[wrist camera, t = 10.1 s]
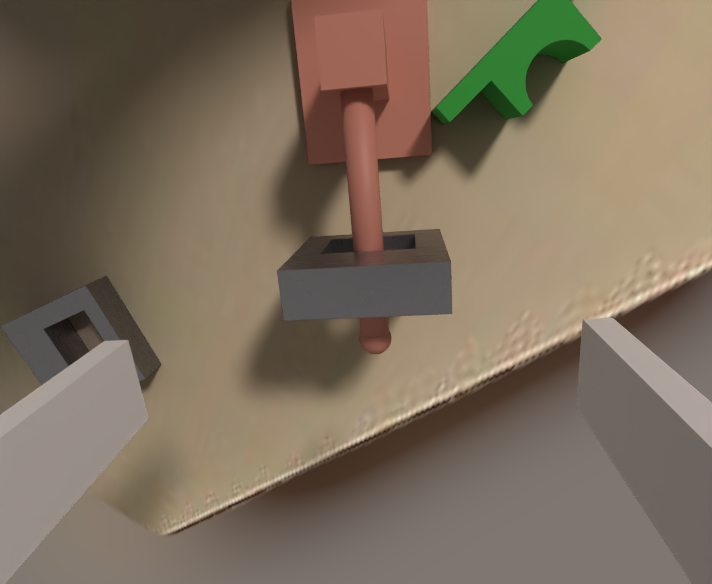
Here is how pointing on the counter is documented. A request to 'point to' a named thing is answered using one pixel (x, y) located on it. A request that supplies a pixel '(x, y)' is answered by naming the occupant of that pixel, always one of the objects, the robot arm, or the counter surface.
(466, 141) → the counter surface
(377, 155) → the hook
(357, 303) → the link
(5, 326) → the link
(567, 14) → the pipe clamp
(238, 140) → the counter surface
